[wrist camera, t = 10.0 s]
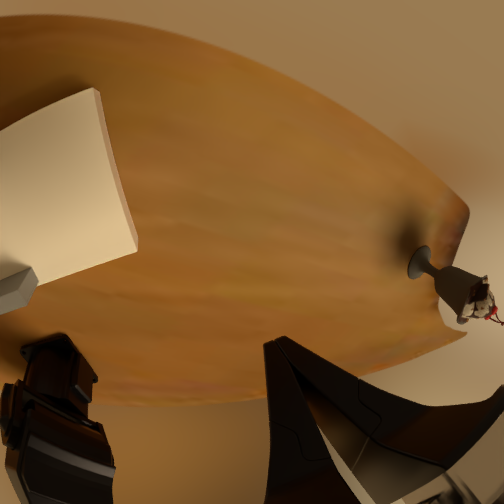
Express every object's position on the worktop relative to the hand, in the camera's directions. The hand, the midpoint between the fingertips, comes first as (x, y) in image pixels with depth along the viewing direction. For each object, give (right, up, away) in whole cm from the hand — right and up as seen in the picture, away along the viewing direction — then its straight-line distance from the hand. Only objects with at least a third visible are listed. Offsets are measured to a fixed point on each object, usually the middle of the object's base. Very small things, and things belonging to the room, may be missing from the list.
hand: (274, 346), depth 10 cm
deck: (-22, +5, +4) cm, 23 cm away
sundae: (+22, +2, +24) cm, 32 cm away
